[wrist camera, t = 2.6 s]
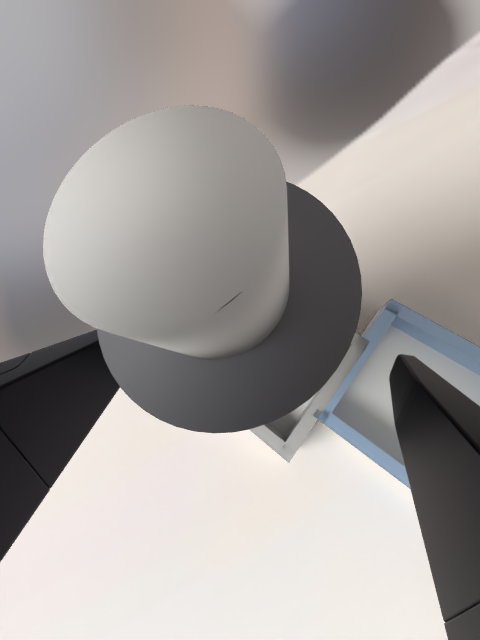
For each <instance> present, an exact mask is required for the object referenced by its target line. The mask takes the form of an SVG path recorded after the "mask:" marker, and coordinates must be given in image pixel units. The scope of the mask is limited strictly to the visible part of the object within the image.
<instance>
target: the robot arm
mask: <svg viewBox="0 0 480 640" xmlns="http://www.w3.org/2000/svg"><path fill="white" fill-rule="evenodd" d="M389 382H390V391H391V399H392V407H393V416H394V423H395V428H396V433H397V436H398V440H399V444H400V448H401V452H402V456H403V460H404V464H405V468H406V472H407V476H408V480H409V484H410V488H411V492H412V496H413V500H414V504H415V508H416V512H417V516H418V520H419V524H420V528H421V532H422V536H423V540H424V544H425V548H426V552H427V556H428V560H429V564H430V568H431V572H432V576H433V580H434V584H435V588H436V592H437V596H438V600H439V604H440V608H441V612H442V616H443V620H444V621H445V623H444V625H445V629H446V633H447V637H448V640H480V406H479V405H478V404H476V403H475V402H474V401H472V400H471V399H470V398H468V397H467V396H466V395H465V394H463V393H462V392H461V391H459V390H458V389H457V388H455V387H454V386H453V385H451V384H450V383H449V382H448V381H446V380H445V379H444V378H442V377H441V376H440V375H438V374H437V373H436V372H435V371H433V370H432V369H431V368H429V367H428V366H427V365H425V364H424V363H423V362H421V361H420V360H419V359H418V358H416V357H415V356H412V355H405V354H399V355H398V356H397V357H396V359H395V362H394V365H393V367H392V370H391V372H390V376H389ZM119 388H120V386H119V384H118V383H117V381H116V380H115V378H114V377H113V375H112V374H111V372H110V370H109V368H108V366H107V364H106V361H105V359H104V357H103V353H102V350H101V347H100V344H99V338H98V333H97V330H94V331H91V332H89V333H86V334H83V335H80V336H77V337H74V338H71V339H69V340H66V341H63V342H60V343H57V344H54V345H51V346H48V347H45V348H42V349H40V350H37V351H34V352H32V353H28V354H25V355H22V356H19V357H16V358H13V359H11V360H7V361H4V362H1V363H0V562H1V560H2V559H3V557H4V556H5V555H6V553H7V552H8V550H9V549H10V547H11V546H12V544H13V543H14V541H15V540H16V539H17V537H18V536H19V534H20V533H21V531H22V530H23V528H24V527H25V525H26V524H27V522H28V521H29V520H30V518H31V517H32V515H33V514H34V512H35V511H36V509H37V508H38V506H39V505H40V503H41V502H42V501H43V499H44V498H45V496H46V495H47V493H48V492H49V490H50V489H49V488H51V487H52V486H53V484H54V483H55V481H56V480H57V478H58V477H59V475H60V474H61V473H62V471H63V470H64V468H65V467H66V465H67V464H68V462H69V461H70V459H71V458H72V456H73V455H74V454H75V452H76V451H77V449H78V448H79V446H80V445H81V443H82V442H83V440H84V439H85V438H86V436H87V435H88V433H89V432H90V430H91V429H92V427H93V426H94V424H95V423H96V421H97V420H98V419H99V417H100V416H101V414H102V413H103V411H104V410H105V408H106V407H107V405H108V404H109V403H110V401H111V400H112V398H113V397H114V395H115V394H116V392H117V391H118V389H119Z"/></svg>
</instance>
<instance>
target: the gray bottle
mask: <svg viewBox="0 0 480 640" xmlns="http://www.w3.org/2000/svg"><path fill="white" fill-rule="evenodd" d="M43 254H44V262H45V268H46V271H47V275H48V279H49V281H50V283H51V285H52V287H53V290H54V292H55V293H56V295H57V296H58V298H59V299H60V301H61V302H62V303H63V304H64V305H65V307H67V309H68V310H69V311H70V312H71V313H73V314H74V315H75V316H77V317H78V318H79V319H80V320H82V321H83V322H85V323H87V324H89V325H91V326H93V327H95V328H97V333H98V338H99V344H100V347H101V350H102V353H103V357H104V359H105V361H106V364H107V366H108V368H109V370H110V372H111V374H112V375H113V377H114V378H115V380H116V381H117V383H118V384H119V386H120V387H121V388H122V390H123V391H124V392H125V393H126V394H127V395H128V396H129V397H130V399H131V400H133V401H134V402H135V403H136V404H137V405H139V406H140V407H141V408H142V409H143V410H145V411H146V412H148V413H150V414H151V415H153V416H154V417H156V418H158V419H159V420H162V421H164V422H166V423H169V424H171V425H174V426H176V427H180V428H184V429H188V430H192V431H197V432H207V433H228V432H237V431H242V430H248V429H253V428H256V427H259V426H262V425H265V424H267V423H270V422H273V421H275V420H277V419H279V418H281V417H283V416H285V415H287V414H289V413H291V412H292V411H294V410H295V409H297V408H298V407H299V406H301V405H302V404H304V403H305V402H306V401H308V400H309V399H310V398H311V397H312V396H313V395H315V394H316V393H317V392H318V391H319V390H320V389H321V388H322V387H323V386H324V385H325V384H326V383H327V381H328V380H329V379H330V377H331V376H332V375H333V374H334V372H335V371H336V370H337V369H338V367H339V365H340V363H341V362H342V360H343V358H344V357H345V355H346V353H347V351H348V349H349V347H350V344H351V342H352V339H353V337H354V334H355V332H356V328H357V324H358V320H359V315H360V309H361V297H362V288H361V274H360V269H359V265H358V260H357V256H356V254H355V251H354V248H353V246H352V243H351V240H350V239H349V237H348V235H347V233H346V232H345V230H344V228H343V226H342V225H341V224H340V222H339V221H338V220H337V218H336V217H335V216H334V214H333V213H332V212H331V211H330V210H329V209H328V208H327V207H326V206H325V205H324V204H323V203H322V202H321V201H319V200H318V199H316V198H315V197H314V196H312V195H311V194H310V193H308V192H307V191H305V190H303V189H301V188H299V187H297V186H295V185H293V184H291V183H288V182H286V179H285V172H284V169H283V166H282V163H281V160H280V158H279V156H278V154H277V152H276V150H275V148H274V146H273V145H272V144H271V142H270V141H269V140H268V138H267V137H266V136H265V134H263V133H262V132H261V131H260V130H259V129H258V128H257V127H256V126H255V125H253V124H252V123H250V122H249V121H247V120H246V119H245V118H243V117H240V116H238V115H236V114H234V113H232V112H229V111H226V110H223V109H219V108H214V107H208V106H194V105H190V106H176V107H170V108H165V109H161V110H157V111H153V112H150V113H147V114H144V115H142V116H139V117H137V118H134V119H132V120H130V121H128V122H127V123H124V124H122V125H121V126H119V127H118V128H116V129H114V130H113V131H111V132H110V133H108V134H107V135H106V136H104V137H103V138H101V139H100V140H99V141H98V142H97V143H95V144H94V145H93V146H92V147H91V148H90V149H89V150H87V152H86V153H85V154H84V155H83V156H82V157H81V158H80V159H79V160H78V161H77V162H76V164H75V165H74V166H73V168H72V169H71V170H70V171H69V173H68V174H67V176H66V177H65V179H64V180H63V182H62V184H61V185H60V187H59V189H58V191H57V193H56V195H55V197H54V200H53V202H52V204H51V207H50V210H49V213H48V217H47V220H46V224H45V231H44V238H43Z"/></svg>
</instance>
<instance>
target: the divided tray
mask: <svg viewBox="0 0 480 640" xmlns="http://www.w3.org/2000/svg"><path fill="white" fill-rule="evenodd" d="M399 354H405V355H412V356H415V357H416V358H418V359H419V360H420V361H421V362H423V363H424V364H425V365H427V366H428V367H429V368H431V369H432V370H433V371H435V372H436V373H437V374H438V375H440V376H441V377H442V378H444V379H445V380H446V381H448V382H449V383H450V384H451V385H453V386H454V387H455V388H457V389H458V390H459V391H461V392H462V393H463V394H465V395H466V396H467V397H468V398H470V399H471V400H472V401H474V402H475V403H476V404H478V405H479V406H480V347H479V346H477V345H475V344H473V343H472V342H470V341H468V340H466V339H464V338H462V337H460V336H459V335H457V334H455V333H453V332H451V331H449V330H448V329H446V328H444V327H442V326H440V325H438V324H436V323H435V322H433V321H431V320H429V319H427V318H425V317H424V316H422V315H420V314H418V313H416V312H414V311H412V310H411V309H409V308H407V307H405V306H403V305H401V304H400V303H398V302H396V301H394V300H392V299H391V300H390V301H389V302H387V303H386V304H385V305H384V306H383V307H382V308H381V309H379V310H378V311H377V313H376V314H375V316H374V317H373V319H372V320H371V322H370V323H369V325H368V326H367V328H366V329H365V331H364V332H363V334H362V335H361V336H360V335H359V334H357V333H355V334H354V337H353V339H352V342H351V344H350V347H349V349H348V351H347V353H346V355H345V357H344V358H343V360H342V362H341V363H340V365H339V367H338V369H337V370H336V371H335V372H334V374H333V375H332V376H331V377H330V379H329V380H328V381H327V383H326V384H325V385H324V386H323V387H322V388H321V389H320V390H319V391H318V392H317V393H316V394H315V395H313V396H312V397H311V398H310V399H309V400H308V401H306V402H305V403H304V404H302V405H301V406H299V407H298V408H297V409H295V410H294V411H292V412H291V413H289V414H287V415H285V416H283V417H281V418H279V419H277V420H275V421H273V422H270V423H267V424H265V425H262V426H259V427H256V428H253V429H249V430H251V431H252V432H253V433H254V434H255V435H256V436H258V437H259V438H260V439H261V440H262V441H264V442H265V443H266V444H267V445H268V446H269V447H271V448H272V449H273V450H274V451H275V452H277V453H278V454H279V455H280V456H281V457H282V458H284V459H285V460H286V461H287V462H288V463H289V462H290V460H291V459H292V457H293V456H294V454H295V453H296V451H297V450H298V448H299V447H300V445H301V444H302V442H303V441H304V439H305V438H306V436H307V435H308V434H309V432H310V431H311V429H312V428H313V426H314V425H315V423H316V422H317V420H320V421H321V422H322V423H324V424H325V425H326V426H328V427H329V428H330V429H332V430H333V431H334V432H336V433H337V434H338V435H340V436H341V437H342V438H344V439H345V440H346V441H348V442H349V443H350V444H351V445H353V446H354V447H355V448H357V449H358V450H359V451H361V452H362V453H363V454H365V455H366V456H367V457H369V458H370V459H371V460H373V461H374V462H375V463H377V464H378V465H379V466H381V467H382V468H383V469H385V470H386V471H387V472H389V473H390V474H391V475H393V476H394V477H395V478H397V479H398V480H399V481H401V482H402V483H403V484H405V485H406V486H407V487H409V488H410V484H409V480H408V476H407V472H406V468H405V464H404V460H403V456H402V452H401V448H400V444H399V440H398V436H397V433H396V428H395V423H394V416H393V407H392V399H391V391H390V382H389V376H390V372H391V370H392V367H393V365H394V362H395V359H396V357H397V356H398V355H399ZM410 489H411V488H410Z"/></svg>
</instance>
